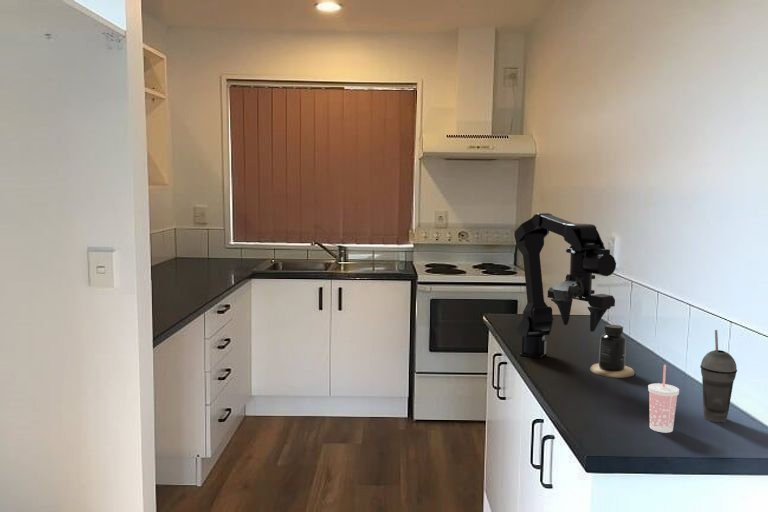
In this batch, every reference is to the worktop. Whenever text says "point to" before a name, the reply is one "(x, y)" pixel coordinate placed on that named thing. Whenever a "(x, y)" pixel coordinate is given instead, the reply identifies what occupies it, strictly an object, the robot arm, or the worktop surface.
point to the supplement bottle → (612, 349)
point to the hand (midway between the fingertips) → (578, 328)
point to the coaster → (612, 372)
